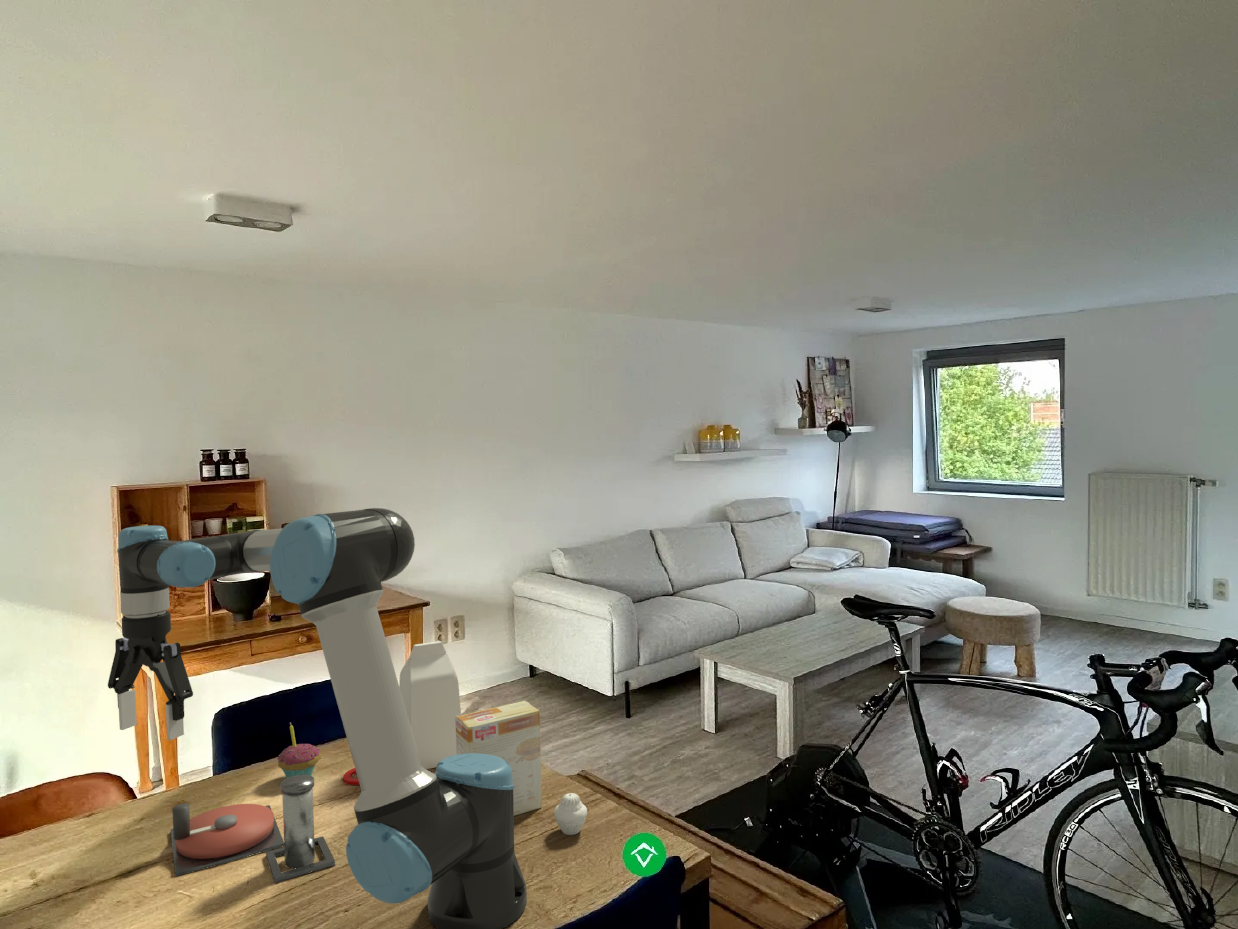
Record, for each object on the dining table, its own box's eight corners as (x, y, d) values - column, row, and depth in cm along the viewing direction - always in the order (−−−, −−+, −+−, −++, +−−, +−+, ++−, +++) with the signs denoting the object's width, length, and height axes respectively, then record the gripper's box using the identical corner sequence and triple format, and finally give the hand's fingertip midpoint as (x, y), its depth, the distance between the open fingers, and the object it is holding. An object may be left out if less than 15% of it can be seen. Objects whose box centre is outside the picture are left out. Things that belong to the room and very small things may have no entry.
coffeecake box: (527, 794, 160) (525, 699, 159) (543, 808, 154) (541, 710, 153) (456, 814, 152) (454, 715, 151) (470, 830, 146) (468, 727, 145)
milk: (410, 772, 171) (407, 654, 169) (398, 753, 181) (394, 641, 179) (464, 760, 176) (461, 645, 175) (449, 742, 186) (446, 634, 185)
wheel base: (284, 846, 141) (284, 843, 141) (175, 876, 132) (175, 873, 132) (269, 808, 156) (269, 805, 156) (170, 832, 147) (170, 829, 147)
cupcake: (269, 785, 166) (267, 728, 165) (296, 767, 174) (294, 714, 173) (303, 790, 163) (301, 733, 163) (330, 772, 171) (328, 718, 171)
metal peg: (319, 863, 136) (316, 783, 135) (286, 873, 133) (282, 792, 132) (313, 849, 140) (310, 772, 140) (280, 858, 137) (277, 779, 137)
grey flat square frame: (335, 865, 135) (335, 860, 135) (274, 883, 130) (274, 878, 130) (323, 840, 143) (323, 836, 143) (265, 856, 138) (265, 852, 138)
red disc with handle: (267, 805, 155) (265, 769, 155) (280, 841, 141) (279, 802, 141) (171, 828, 146) (170, 791, 146) (176, 869, 133) (174, 828, 132)
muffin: (547, 834, 144) (546, 796, 144) (566, 819, 150) (565, 783, 149) (576, 843, 141) (575, 804, 141) (594, 827, 146) (593, 790, 146)
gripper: (212, 613, 140) (217, 734, 141) (121, 603, 149) (126, 715, 150) (173, 624, 133) (179, 750, 134) (80, 612, 142) (86, 730, 143)
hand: (151, 732), depth 142 cm, fingers open, 12 cm apart
